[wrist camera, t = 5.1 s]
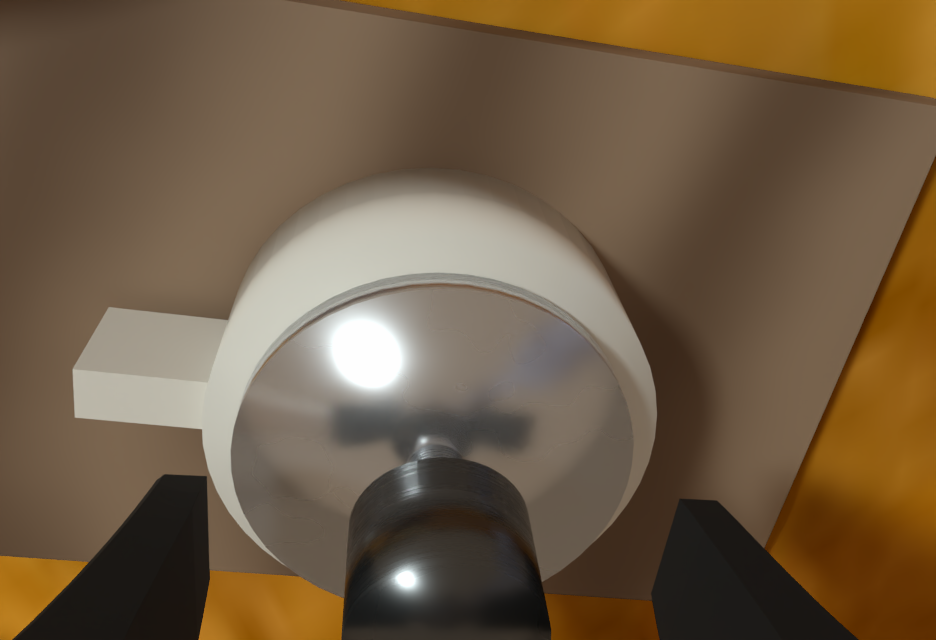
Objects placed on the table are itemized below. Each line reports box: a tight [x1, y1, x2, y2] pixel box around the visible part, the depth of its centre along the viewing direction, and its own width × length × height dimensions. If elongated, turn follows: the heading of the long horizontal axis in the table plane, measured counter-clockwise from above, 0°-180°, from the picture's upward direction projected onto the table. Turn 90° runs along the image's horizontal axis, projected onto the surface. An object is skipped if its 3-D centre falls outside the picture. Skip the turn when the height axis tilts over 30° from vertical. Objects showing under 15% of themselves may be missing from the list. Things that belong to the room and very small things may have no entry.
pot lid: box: [231, 272, 634, 640], centre depth 14 cm, size 7×7×4 cm
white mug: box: [73, 168, 657, 567], centre depth 17 cm, size 10×8×3 cm
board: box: [0, 0, 936, 601], centre depth 19 cm, size 20×13×1 cm, turn 80°
